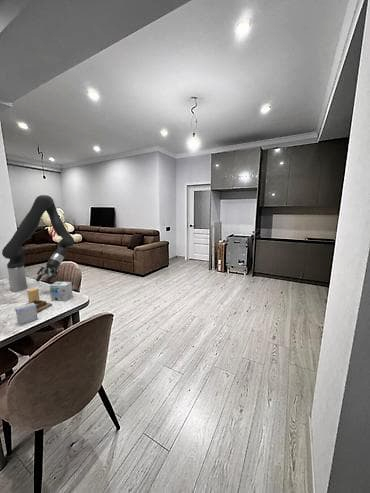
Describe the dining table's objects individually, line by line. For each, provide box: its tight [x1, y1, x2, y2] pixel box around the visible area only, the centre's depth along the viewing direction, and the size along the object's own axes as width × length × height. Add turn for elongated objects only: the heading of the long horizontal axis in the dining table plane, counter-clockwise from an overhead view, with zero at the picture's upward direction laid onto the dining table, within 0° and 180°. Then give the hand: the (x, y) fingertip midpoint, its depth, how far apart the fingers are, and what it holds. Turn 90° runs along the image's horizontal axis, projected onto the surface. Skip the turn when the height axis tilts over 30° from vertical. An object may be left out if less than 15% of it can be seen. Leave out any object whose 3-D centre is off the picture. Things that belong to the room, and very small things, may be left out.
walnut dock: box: [24, 300, 53, 314], centre depth 118 cm, size 12×12×3 cm
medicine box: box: [14, 302, 38, 326], centre depth 105 cm, size 8×4×9 cm, turn 141°
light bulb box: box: [49, 281, 74, 302], centre depth 131 cm, size 11×7×11 cm, turn 88°
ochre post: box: [26, 287, 40, 303], centre depth 127 cm, size 4×4×8 cm
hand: (42, 281), depth 132 cm, fingers open, 8 cm apart
